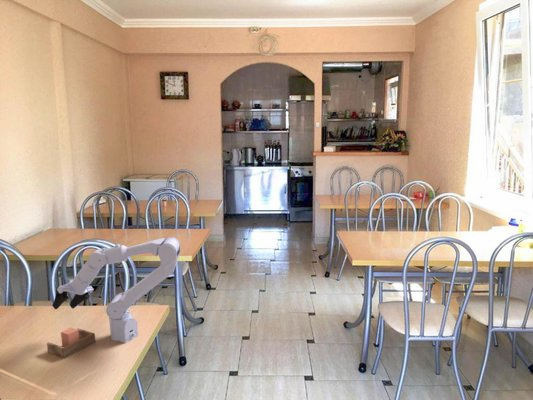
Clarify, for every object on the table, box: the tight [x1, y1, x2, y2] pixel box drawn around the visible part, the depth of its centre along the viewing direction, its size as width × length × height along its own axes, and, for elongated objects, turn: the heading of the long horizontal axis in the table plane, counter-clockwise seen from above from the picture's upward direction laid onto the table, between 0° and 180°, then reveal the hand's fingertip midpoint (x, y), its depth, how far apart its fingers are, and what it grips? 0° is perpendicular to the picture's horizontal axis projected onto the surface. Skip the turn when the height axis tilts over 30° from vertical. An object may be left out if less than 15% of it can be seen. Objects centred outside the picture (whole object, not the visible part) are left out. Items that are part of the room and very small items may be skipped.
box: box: [46, 328, 96, 359], centre depth 158 cm, size 9×13×4 cm
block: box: [60, 327, 79, 347], centre depth 158 cm, size 4×4×6 cm
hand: (63, 307), depth 162 cm, fingers open, 7 cm apart
